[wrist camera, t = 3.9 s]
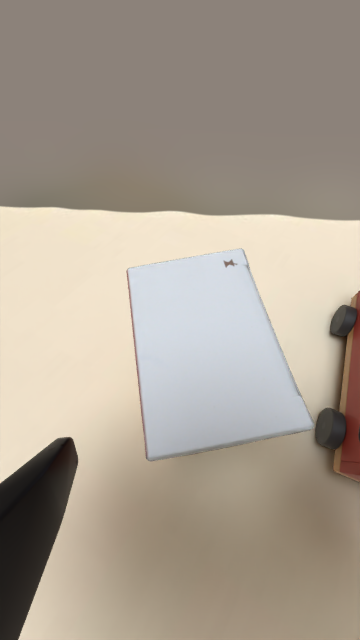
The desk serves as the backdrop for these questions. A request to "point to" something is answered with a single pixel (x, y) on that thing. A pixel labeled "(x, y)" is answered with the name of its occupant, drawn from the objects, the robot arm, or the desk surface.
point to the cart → (345, 398)
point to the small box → (208, 358)
